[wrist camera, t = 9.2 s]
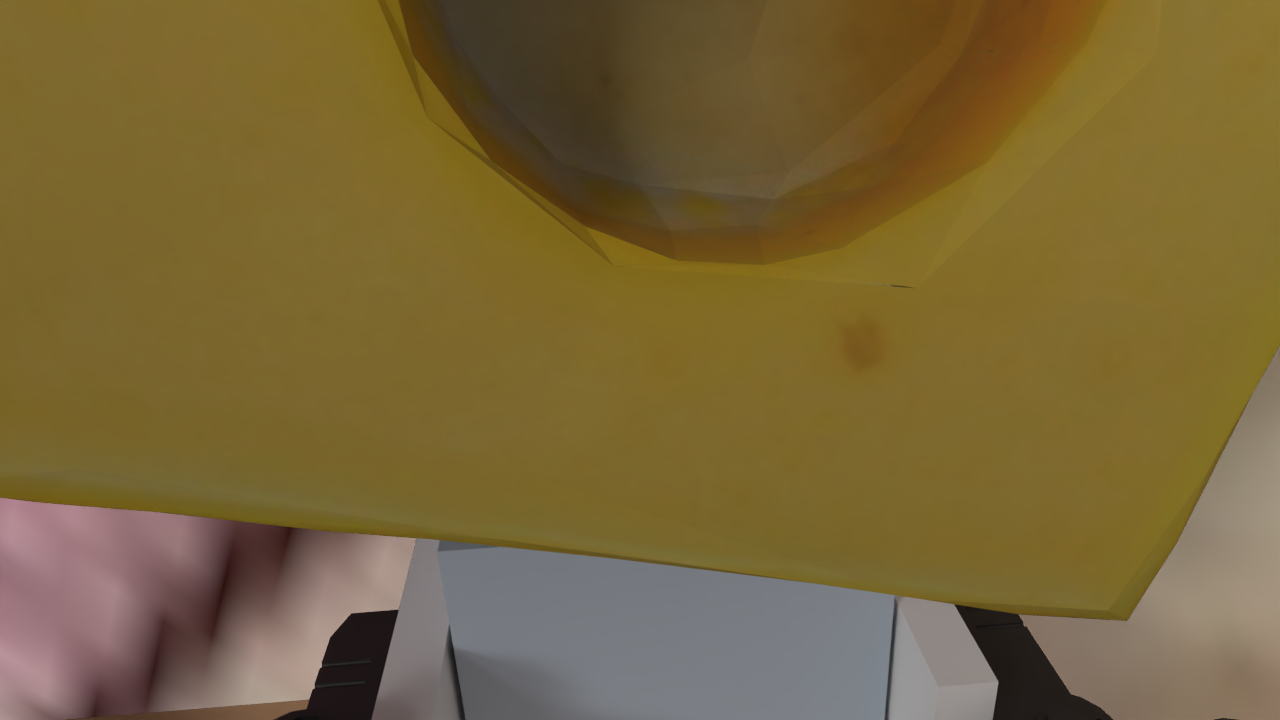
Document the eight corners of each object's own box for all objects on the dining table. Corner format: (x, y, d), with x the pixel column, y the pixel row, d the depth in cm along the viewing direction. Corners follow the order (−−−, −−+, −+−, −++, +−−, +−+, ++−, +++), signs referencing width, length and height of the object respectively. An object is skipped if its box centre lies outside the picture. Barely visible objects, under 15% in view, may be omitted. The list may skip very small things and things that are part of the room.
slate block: (514, 613, 20) (490, 870, 14) (481, 357, 17) (436, 551, 12) (793, 591, 20) (874, 837, 15) (800, 336, 18) (901, 516, 12)
